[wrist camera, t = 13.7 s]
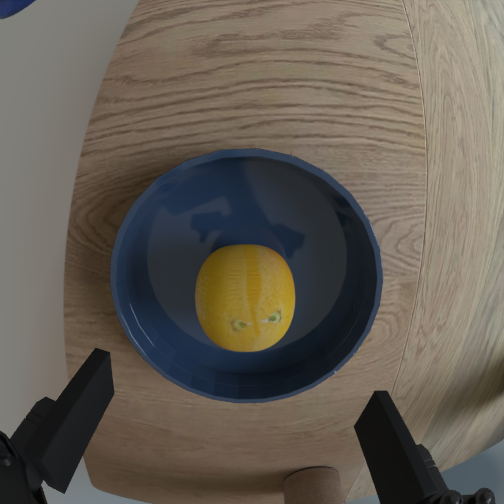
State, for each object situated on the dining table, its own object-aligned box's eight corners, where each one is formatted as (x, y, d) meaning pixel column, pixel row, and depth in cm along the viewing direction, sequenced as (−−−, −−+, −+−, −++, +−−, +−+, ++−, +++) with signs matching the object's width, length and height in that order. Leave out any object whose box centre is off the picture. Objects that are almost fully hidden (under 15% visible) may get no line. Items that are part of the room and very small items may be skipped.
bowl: (129, 350, 30) (114, 375, 25) (146, 137, 24) (125, 131, 19) (324, 382, 31) (333, 410, 27) (386, 185, 25) (412, 189, 21)
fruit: (297, 311, 28) (312, 358, 20) (218, 329, 28) (208, 380, 21) (277, 224, 26) (289, 246, 18) (190, 246, 26) (167, 276, 18)
